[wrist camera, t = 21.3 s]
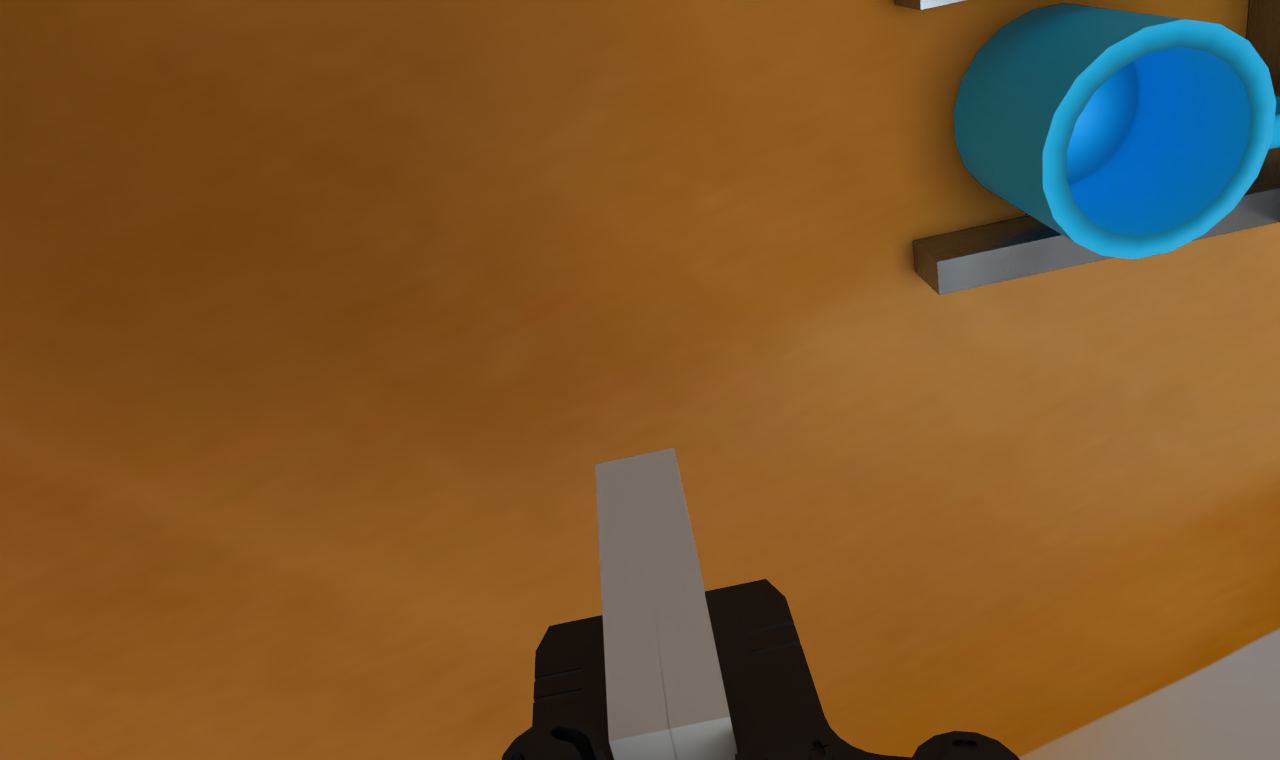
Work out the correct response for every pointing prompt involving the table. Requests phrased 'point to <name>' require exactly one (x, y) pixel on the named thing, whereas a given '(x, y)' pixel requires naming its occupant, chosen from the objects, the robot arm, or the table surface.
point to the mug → (1117, 124)
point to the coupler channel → (1038, 248)
